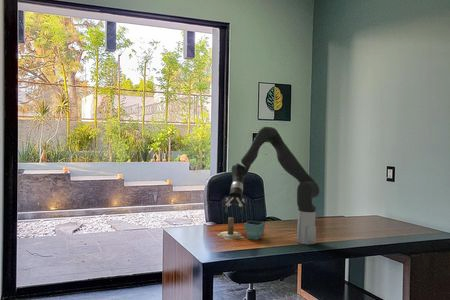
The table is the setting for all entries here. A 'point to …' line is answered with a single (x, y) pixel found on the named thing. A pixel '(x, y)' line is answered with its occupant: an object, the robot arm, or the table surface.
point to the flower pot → (254, 229)
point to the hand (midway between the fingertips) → (233, 212)
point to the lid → (230, 230)
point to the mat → (231, 238)
